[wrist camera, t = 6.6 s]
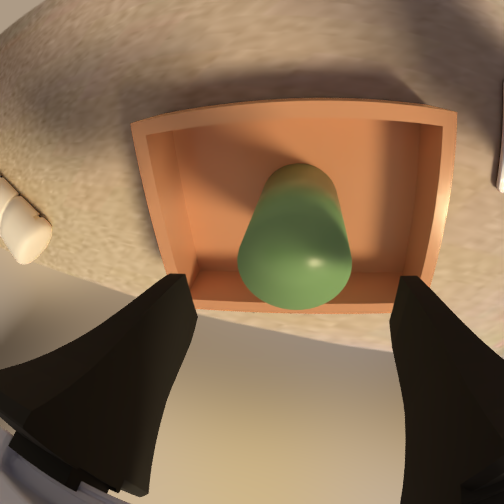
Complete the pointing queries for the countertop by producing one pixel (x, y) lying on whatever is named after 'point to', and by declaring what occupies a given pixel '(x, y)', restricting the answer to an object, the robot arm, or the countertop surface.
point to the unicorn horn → (21, 225)
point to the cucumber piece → (296, 241)
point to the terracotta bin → (291, 152)
